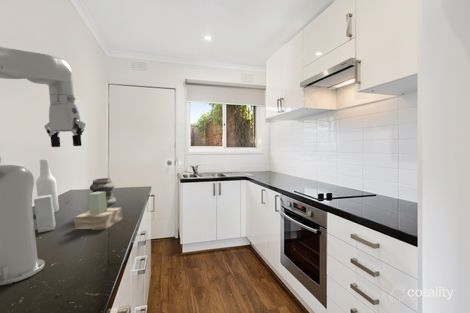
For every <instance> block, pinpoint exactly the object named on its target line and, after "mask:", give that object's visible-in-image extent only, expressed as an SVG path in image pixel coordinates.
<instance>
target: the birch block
mask: <svg viewBox="0 0 470 313" xmlns="http://www.w3.org/2000/svg"><path fill="white" fill-rule="evenodd" d="M123 218H124V216H123V207H120V206H119V207H117V206H115V207H108V208H107V211H105V212H103V213H100V214H90V211H89V210H86V211H85V212H83V213H81V214H78V215H77V216H76V215H75V216H74V217H73V222H74V224H73V225H74V230H75V229H92V230H107V229H109V228H111V227H112V226H113V225H115V224H116V223H118V222H120V221H121V220H123Z"/></svg>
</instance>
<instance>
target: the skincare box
mask: <svg viewBox="0 0 470 313" xmlns="http://www.w3.org/2000/svg"><path fill="white" fill-rule="evenodd" d="M33 205H34V211H35V212H34V213H35V221H36V228H37V232H38V233H42V232H48V231H54V230H55V228H56V224H57V223H56V216H55V213H54V208H53V201H52V195H45V196H36V197H34V198H33Z"/></svg>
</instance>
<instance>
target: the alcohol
mask: <svg viewBox="0 0 470 313" xmlns="http://www.w3.org/2000/svg"><path fill="white" fill-rule="evenodd" d="M39 165H40V166H39V177H38V178H37V179H36V182H35V184H36V185H35V186H36V193H37V194H36V195H37V196H36V197H38V196H45V195H52V201H53V208H54V214H55V213H57V212H59V210H60V207H59V195H58V186H57V179H56V178H55V177H54V176H53V175H52V172H51V169H50V167H51V166H50V161H49V159H48V158H46V159H45V158H44V159H43V158H42V159H39Z"/></svg>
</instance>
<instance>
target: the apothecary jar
mask: <svg viewBox="0 0 470 313" xmlns="http://www.w3.org/2000/svg"><path fill="white" fill-rule="evenodd" d="M114 188H115V183H114V182H112V179H111V177H110V178H109V177H102V178H96V179H93V180H92V184H91V185H90V186H89V189H90V191H91V192H92V193H94V192H106V202H107V208H110V207H111V206H113V205H115V203H116V201H117V199H116V197H115V196H114V193H113V189H114Z"/></svg>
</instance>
